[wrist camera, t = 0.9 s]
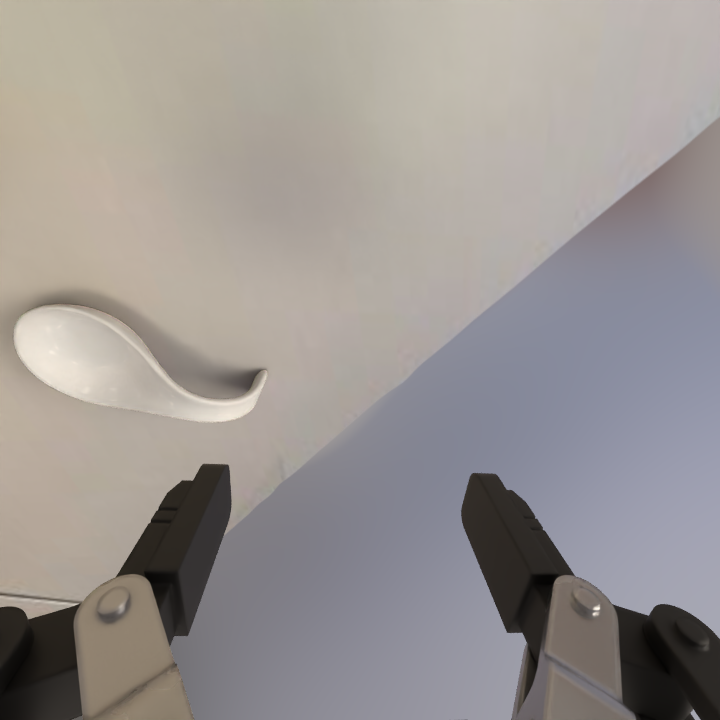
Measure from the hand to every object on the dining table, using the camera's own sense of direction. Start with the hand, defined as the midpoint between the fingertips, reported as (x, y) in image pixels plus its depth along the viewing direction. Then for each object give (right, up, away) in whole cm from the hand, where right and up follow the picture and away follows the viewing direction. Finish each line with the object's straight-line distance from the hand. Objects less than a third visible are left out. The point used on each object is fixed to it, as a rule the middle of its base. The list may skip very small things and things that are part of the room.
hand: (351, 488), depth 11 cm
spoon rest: (-22, +5, +28) cm, 36 cm away
